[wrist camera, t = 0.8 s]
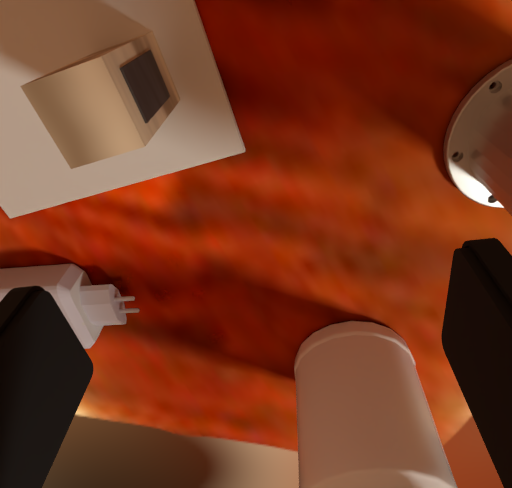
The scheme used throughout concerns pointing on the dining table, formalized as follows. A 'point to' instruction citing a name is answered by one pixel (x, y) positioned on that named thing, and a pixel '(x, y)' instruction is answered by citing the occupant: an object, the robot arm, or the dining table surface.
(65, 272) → the charger
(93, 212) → the dining table surface
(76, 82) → the maple block
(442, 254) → the dining table surface
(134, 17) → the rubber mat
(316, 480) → the bottle
